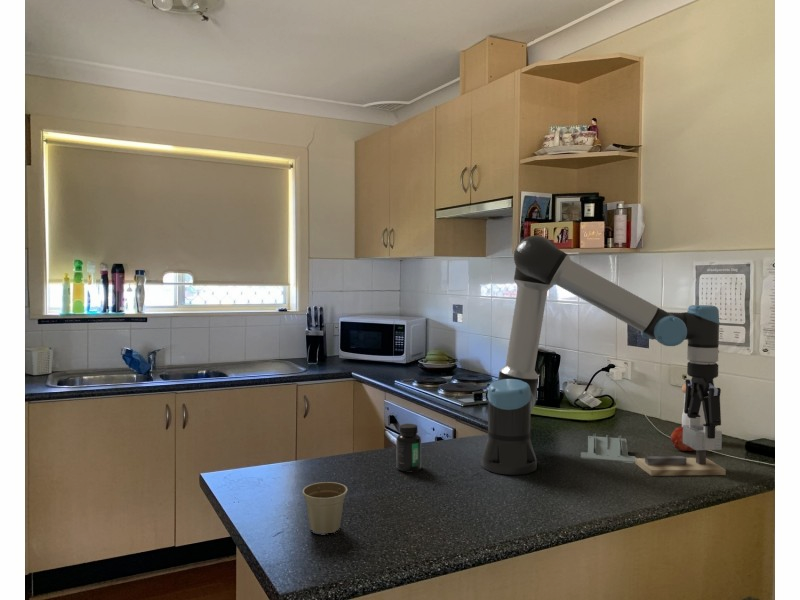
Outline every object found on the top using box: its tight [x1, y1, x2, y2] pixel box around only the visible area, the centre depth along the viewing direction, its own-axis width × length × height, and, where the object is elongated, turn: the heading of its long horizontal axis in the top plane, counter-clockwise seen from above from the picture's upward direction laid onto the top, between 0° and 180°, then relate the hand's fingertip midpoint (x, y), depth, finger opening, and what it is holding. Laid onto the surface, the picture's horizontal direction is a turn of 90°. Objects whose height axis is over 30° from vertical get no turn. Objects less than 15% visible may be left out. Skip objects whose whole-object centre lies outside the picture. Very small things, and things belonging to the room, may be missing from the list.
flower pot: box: [302, 481, 349, 533], centre depth 124 cm, size 9×9×9 cm
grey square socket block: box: [683, 425, 723, 451], centre depth 161 cm, size 7×7×5 cm
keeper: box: [634, 450, 727, 477], centre depth 161 cm, size 20×10×8 cm, turn 91°
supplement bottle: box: [395, 423, 422, 472], centre depth 162 cm, size 7×7×12 cm
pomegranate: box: [670, 426, 695, 452], centre depth 178 cm, size 7×7×10 cm
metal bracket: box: [580, 433, 637, 464], centre depth 175 cm, size 14×6×15 cm
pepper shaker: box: [681, 383, 706, 427], centre depth 188 cm, size 7×7×19 cm
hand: (701, 445), depth 161 cm, fingers closed on grey square socket block, 7 cm apart
